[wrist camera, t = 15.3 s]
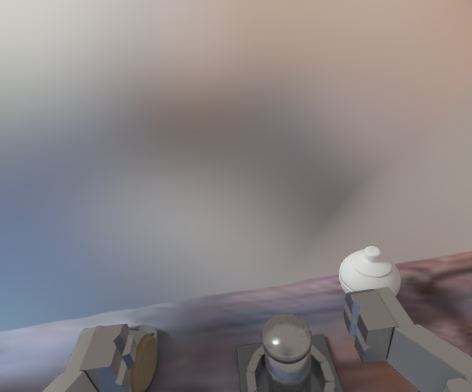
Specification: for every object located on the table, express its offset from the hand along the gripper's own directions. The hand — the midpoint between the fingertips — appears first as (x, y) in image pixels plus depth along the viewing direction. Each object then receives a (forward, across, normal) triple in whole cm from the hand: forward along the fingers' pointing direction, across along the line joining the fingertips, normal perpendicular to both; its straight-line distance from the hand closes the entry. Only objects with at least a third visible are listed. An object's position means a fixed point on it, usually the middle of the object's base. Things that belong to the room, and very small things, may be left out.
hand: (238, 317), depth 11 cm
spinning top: (+21, -17, +30) cm, 41 cm away
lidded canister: (+12, -4, +29) cm, 32 cm away
